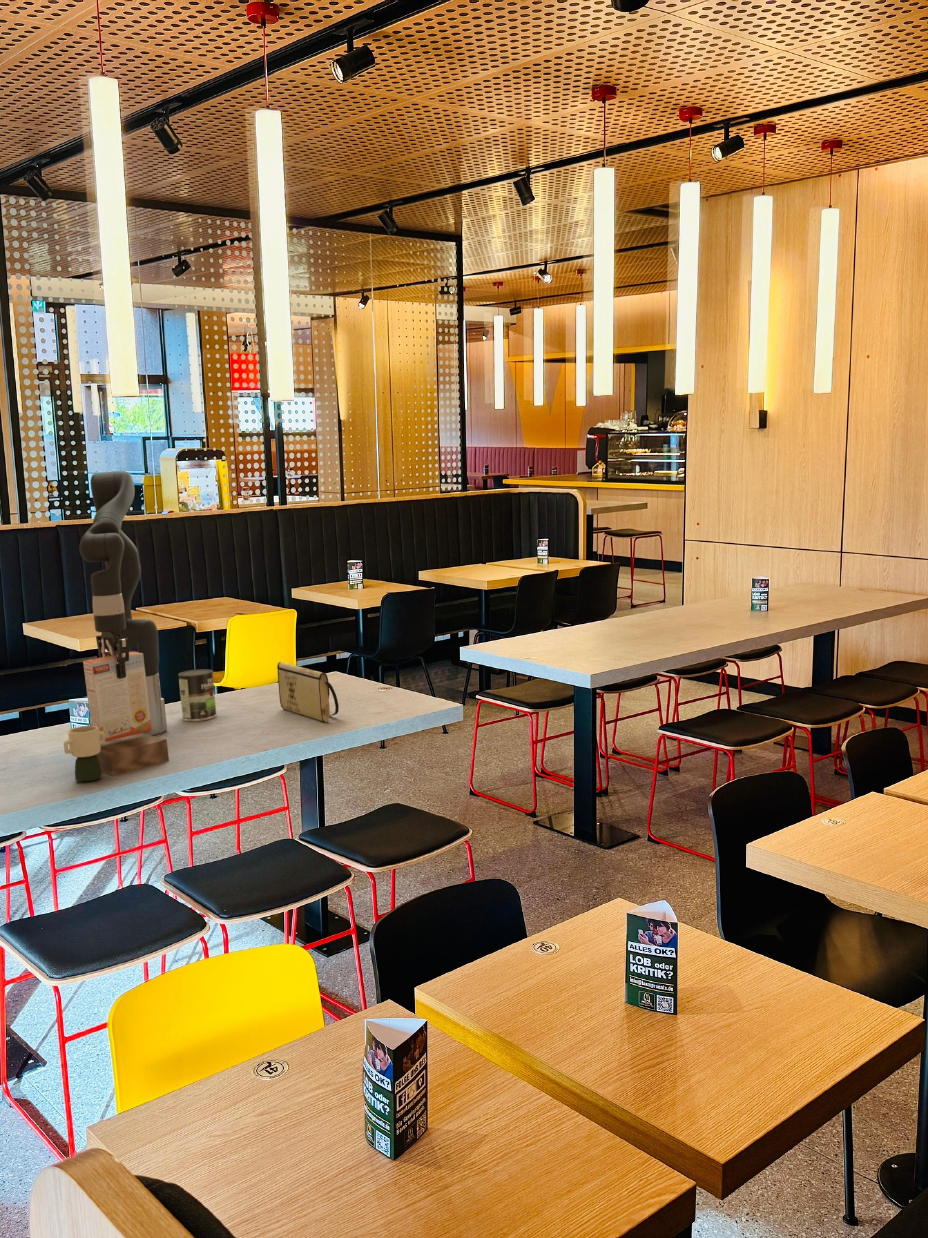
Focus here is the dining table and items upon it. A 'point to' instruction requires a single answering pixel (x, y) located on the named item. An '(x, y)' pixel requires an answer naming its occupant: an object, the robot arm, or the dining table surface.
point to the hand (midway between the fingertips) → (115, 676)
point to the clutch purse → (305, 691)
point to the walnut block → (132, 753)
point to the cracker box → (117, 696)
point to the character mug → (85, 751)
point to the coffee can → (197, 695)
